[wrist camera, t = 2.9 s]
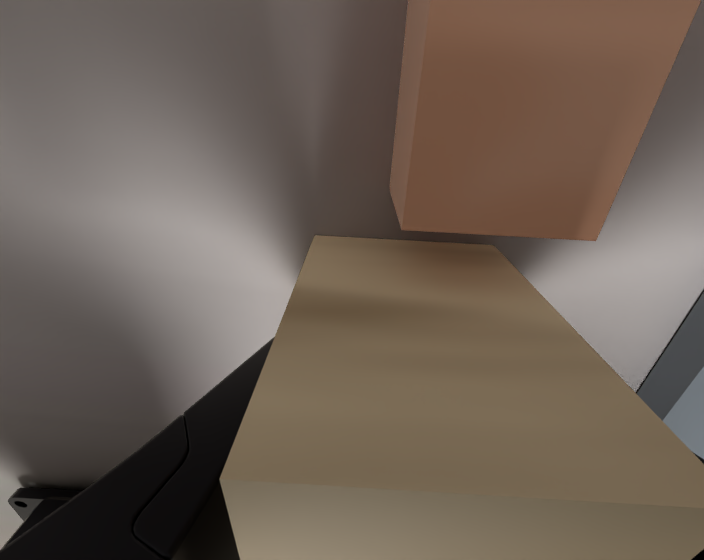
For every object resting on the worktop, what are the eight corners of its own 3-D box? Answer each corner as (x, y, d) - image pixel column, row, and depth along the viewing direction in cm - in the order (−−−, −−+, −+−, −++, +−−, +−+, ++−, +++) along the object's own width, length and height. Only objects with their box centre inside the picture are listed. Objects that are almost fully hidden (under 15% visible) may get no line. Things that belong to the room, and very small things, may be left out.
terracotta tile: (515, 194, 8) (596, 241, 5) (388, 187, 8) (401, 230, 5) (603, -115, 5) (851, -347, 3) (419, -124, 5) (475, -363, 3)
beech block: (457, 376, 10) (559, 670, 5) (315, 368, 10) (263, 651, 5) (493, 245, 8) (749, 510, 3) (314, 235, 8) (218, 478, 3)
